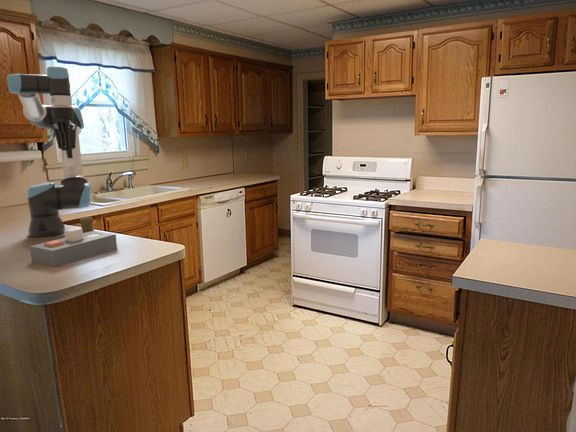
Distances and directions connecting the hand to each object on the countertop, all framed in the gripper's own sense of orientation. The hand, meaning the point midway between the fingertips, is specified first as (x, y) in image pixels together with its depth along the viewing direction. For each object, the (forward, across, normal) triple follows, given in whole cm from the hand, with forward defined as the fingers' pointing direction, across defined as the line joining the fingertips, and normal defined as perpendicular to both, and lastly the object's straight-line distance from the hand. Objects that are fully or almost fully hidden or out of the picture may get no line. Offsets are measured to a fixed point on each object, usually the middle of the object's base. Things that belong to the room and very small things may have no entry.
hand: (69, 166), depth 177 cm
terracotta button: (+29, +17, -21) cm, 40 cm away
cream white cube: (+26, +17, -13) cm, 34 cm away
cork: (+33, +4, +2) cm, 33 cm away
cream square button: (+31, +17, -5) cm, 35 cm away
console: (+32, +17, -13) cm, 39 cm away
